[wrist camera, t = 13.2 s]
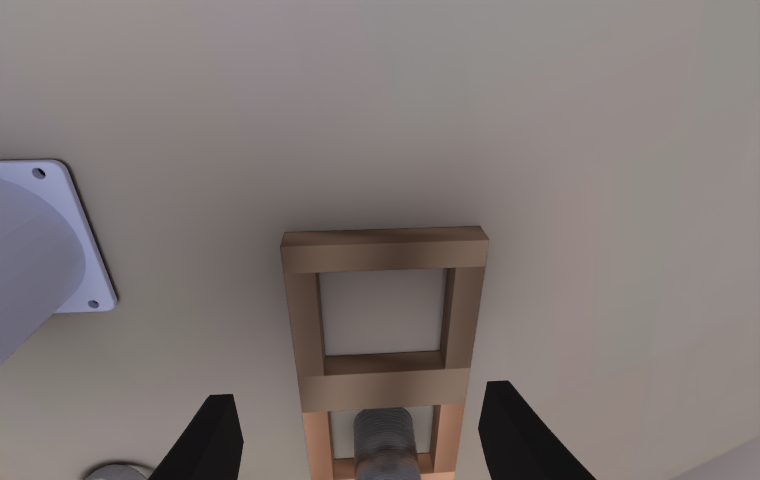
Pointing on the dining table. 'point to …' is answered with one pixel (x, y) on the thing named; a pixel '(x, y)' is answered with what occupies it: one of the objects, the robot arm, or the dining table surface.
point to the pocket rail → (394, 370)
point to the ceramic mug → (116, 473)
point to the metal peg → (385, 445)
